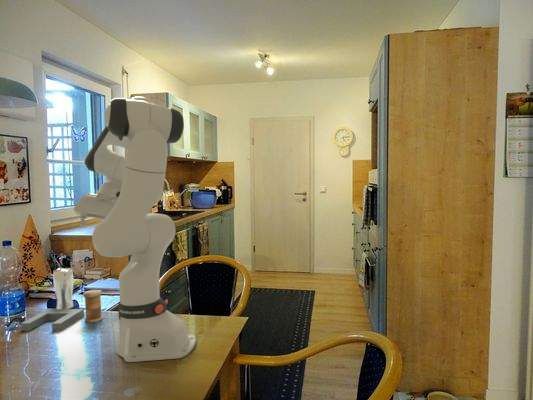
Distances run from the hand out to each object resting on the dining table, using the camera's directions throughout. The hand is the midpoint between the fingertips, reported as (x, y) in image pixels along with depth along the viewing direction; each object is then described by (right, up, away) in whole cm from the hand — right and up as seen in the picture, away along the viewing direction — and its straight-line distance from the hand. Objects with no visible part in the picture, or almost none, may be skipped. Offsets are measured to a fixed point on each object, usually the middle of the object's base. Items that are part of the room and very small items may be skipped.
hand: (93, 227), depth 141 cm
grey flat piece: (-12, -33, -4) cm, 36 cm away
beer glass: (-17, -33, +13) cm, 39 cm away
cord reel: (+1, -33, -2) cm, 33 cm away
